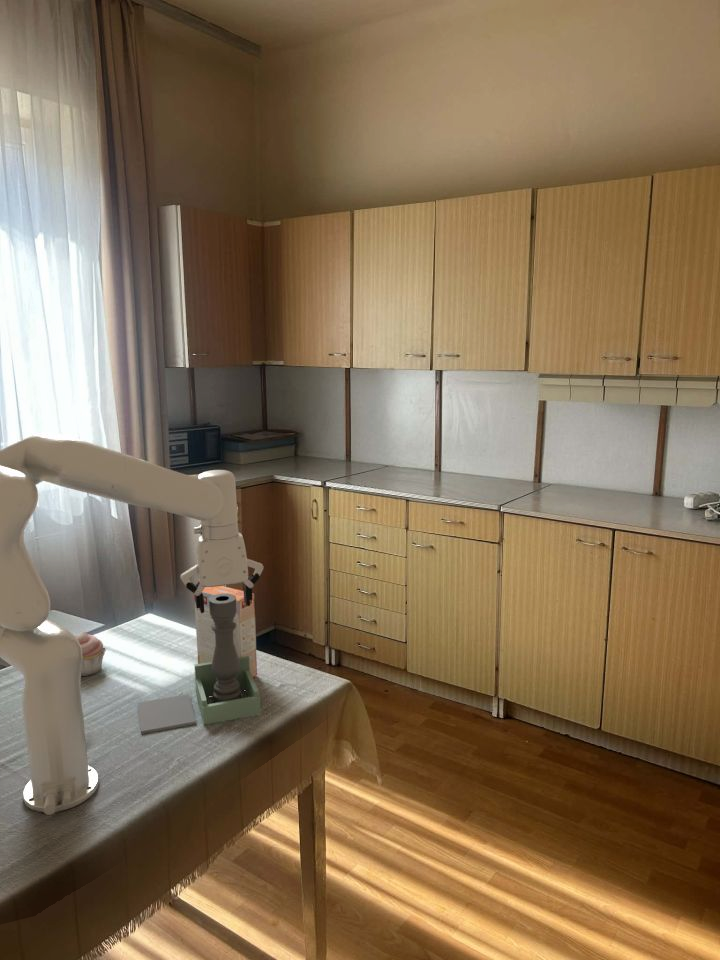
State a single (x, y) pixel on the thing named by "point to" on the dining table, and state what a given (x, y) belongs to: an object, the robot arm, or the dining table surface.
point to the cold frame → (227, 708)
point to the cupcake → (90, 653)
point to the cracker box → (241, 634)
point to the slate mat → (165, 713)
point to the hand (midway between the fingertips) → (224, 607)
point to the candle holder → (224, 648)
